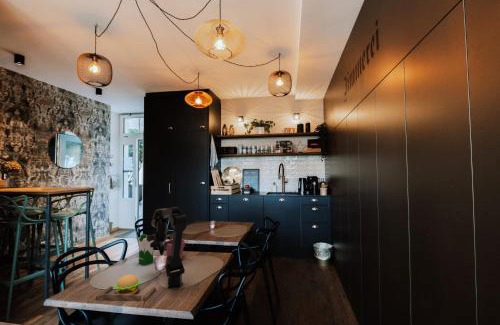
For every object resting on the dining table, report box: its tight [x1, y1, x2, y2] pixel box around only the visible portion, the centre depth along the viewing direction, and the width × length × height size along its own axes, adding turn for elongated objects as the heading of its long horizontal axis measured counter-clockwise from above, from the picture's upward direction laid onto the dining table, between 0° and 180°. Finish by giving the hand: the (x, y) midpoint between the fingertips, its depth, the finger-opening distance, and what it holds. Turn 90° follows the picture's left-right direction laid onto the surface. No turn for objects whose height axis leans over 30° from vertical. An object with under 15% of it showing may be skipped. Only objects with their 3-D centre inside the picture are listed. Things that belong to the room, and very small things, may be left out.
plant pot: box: [165, 239, 186, 259], centre depth 184 cm, size 14×14×13 cm
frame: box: [95, 286, 157, 302], centre depth 130 cm, size 26×11×2 cm, turn 85°
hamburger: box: [114, 274, 141, 294], centre depth 133 cm, size 12×12×9 cm
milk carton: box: [137, 233, 155, 267], centre depth 176 cm, size 9×9×20 cm
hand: (161, 255), depth 155 cm, fingers closed
